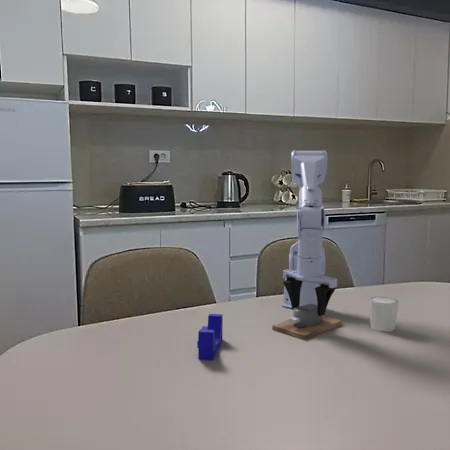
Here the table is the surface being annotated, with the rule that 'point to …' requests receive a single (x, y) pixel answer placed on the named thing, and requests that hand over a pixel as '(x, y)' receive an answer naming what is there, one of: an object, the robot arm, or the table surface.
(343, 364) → the table surface
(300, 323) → the connector plug
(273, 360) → the table surface
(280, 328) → the walnut board
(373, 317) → the white cup
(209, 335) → the cable clip
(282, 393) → the table surface
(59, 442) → the table surface
